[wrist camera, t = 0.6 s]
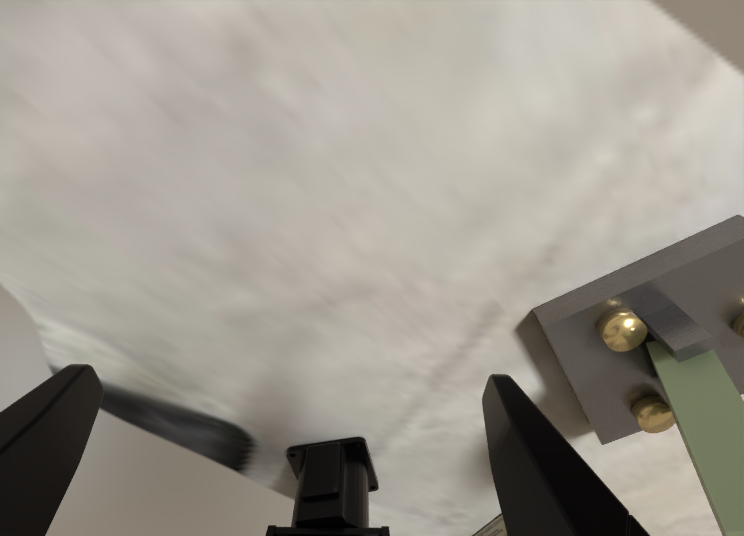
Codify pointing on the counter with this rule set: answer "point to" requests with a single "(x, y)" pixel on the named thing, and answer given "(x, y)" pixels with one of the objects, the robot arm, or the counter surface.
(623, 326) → the base
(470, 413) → the counter surface
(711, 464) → the green lever
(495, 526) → the coffee box
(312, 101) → the counter surface
